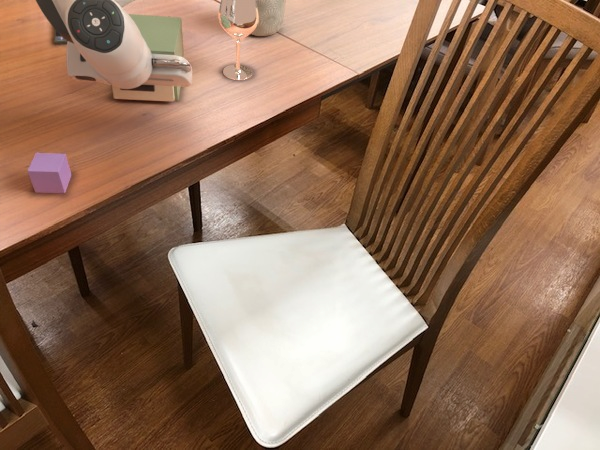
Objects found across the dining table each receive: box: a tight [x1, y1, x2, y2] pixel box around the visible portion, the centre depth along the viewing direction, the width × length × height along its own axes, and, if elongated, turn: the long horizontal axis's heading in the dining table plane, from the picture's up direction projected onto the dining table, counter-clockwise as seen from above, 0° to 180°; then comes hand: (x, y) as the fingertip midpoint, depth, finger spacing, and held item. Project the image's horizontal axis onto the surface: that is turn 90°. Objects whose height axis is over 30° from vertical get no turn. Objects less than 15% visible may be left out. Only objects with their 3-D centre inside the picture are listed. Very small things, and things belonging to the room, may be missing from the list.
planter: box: [250, 0, 287, 37], centre depth 123 cm, size 12×12×11 cm
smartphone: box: [53, 29, 68, 45], centre depth 117 cm, size 8×15×1 cm, turn 16°
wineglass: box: [217, 0, 259, 81], centre depth 105 cm, size 8×8×18 cm
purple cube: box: [27, 152, 73, 194], centre depth 80 cm, size 4×4×4 cm
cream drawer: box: [111, 84, 175, 103], centre depth 99 cm, size 18×11×9 cm, turn 4°
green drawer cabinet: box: [110, 13, 185, 102], centre depth 102 cm, size 15×13×11 cm
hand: (140, 81), depth 94 cm, fingers closed, pressing on cream drawer
